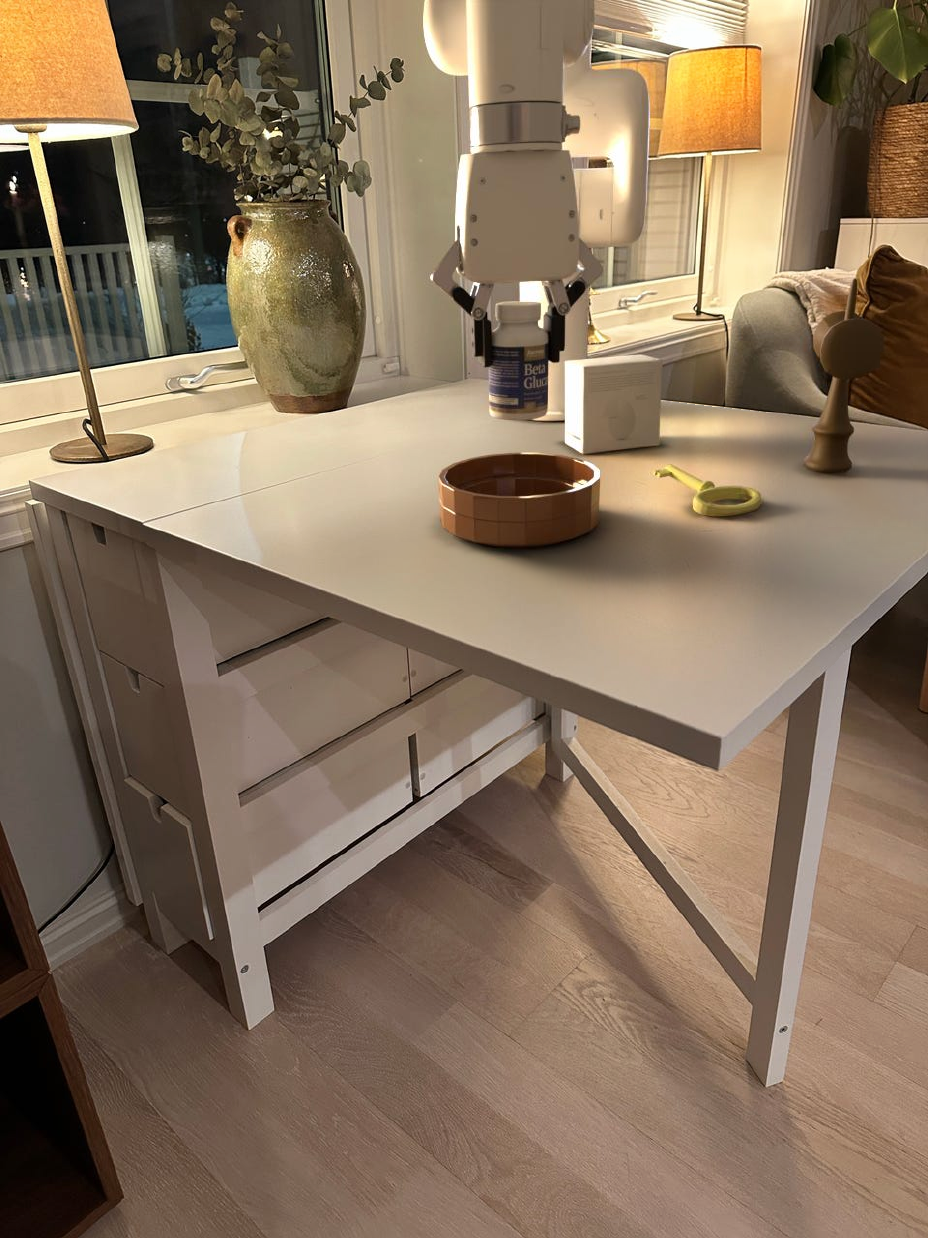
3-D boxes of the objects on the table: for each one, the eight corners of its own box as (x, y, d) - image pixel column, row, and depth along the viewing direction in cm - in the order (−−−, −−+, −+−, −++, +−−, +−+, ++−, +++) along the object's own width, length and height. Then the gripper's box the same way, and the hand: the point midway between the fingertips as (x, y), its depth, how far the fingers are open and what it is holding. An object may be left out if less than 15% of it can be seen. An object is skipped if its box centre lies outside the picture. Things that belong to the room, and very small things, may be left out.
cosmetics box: (637, 434, 116) (642, 351, 111) (660, 446, 110) (665, 359, 105) (562, 442, 113) (563, 358, 109) (581, 454, 108) (583, 366, 103)
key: (666, 481, 97) (667, 462, 96) (769, 504, 88) (772, 484, 87) (625, 496, 92) (626, 476, 91) (730, 523, 84) (732, 501, 83)
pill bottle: (531, 423, 78) (530, 307, 74) (478, 418, 81) (475, 305, 76) (558, 411, 82) (559, 300, 78) (507, 406, 85) (506, 298, 80)
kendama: (803, 481, 95) (829, 282, 86) (794, 457, 103) (817, 274, 95) (863, 483, 93) (896, 282, 85) (849, 459, 102) (878, 273, 93)
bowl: (431, 506, 92) (428, 459, 89) (572, 494, 94) (573, 447, 92) (455, 558, 78) (453, 504, 76) (620, 542, 80) (622, 489, 78)
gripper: (603, 133, 76) (597, 350, 84) (405, 139, 74) (418, 362, 81) (633, 126, 69) (623, 363, 77) (417, 132, 67) (429, 376, 75)
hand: (518, 360), depth 79 cm, fingers closed on pill bottle, 5 cm apart
